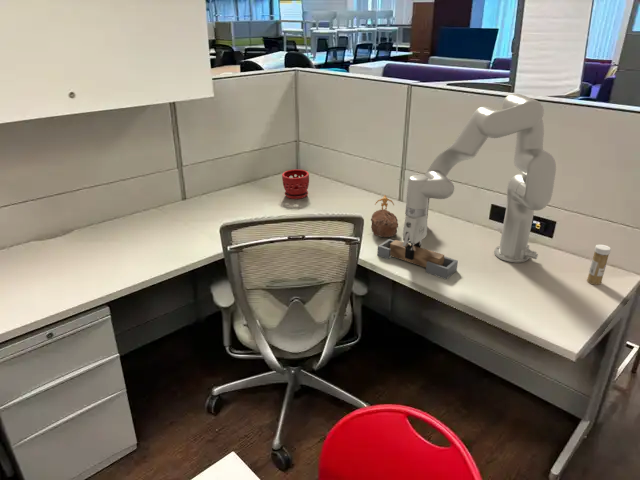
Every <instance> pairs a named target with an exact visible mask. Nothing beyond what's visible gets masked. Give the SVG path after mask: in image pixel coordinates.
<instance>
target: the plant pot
mask: <svg viewBox="0 0 640 480" xmlns="http://www.w3.org/2000/svg"><path fill="white" fill-rule="evenodd" d="M281 177H282V185H283V189H284V191H285V192H284V196H285V197H286V198H288V199H292V200H300V199H304V198H306V197H307V196H308V195H309V191H308V189H309V185H310V173H309V172H308V171H307V170H304V169H290V170H289V169H288V170H286V171H283V173H282V174H281Z"/></svg>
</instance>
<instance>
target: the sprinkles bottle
mask: <svg viewBox="0 0 640 480" xmlns="http://www.w3.org/2000/svg"><path fill="white" fill-rule="evenodd" d="M611 251H612V248H611V247H610V246H609V245H605V244H602V243H601V244H596V245H595V247H594V253H593V256H592V260H591V264H590V267H589V269H588V270H589V271H588V275H587V276H588V277H587V278H586V281H587V283H589V284H591V285H593V286H596V285H597V286H599V285H601V284H602V281H603V277H604V274H605V270H606V267H607V262H608V258H609V255H610V254H611Z"/></svg>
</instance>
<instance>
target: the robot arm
mask: <svg viewBox="0 0 640 480" xmlns="http://www.w3.org/2000/svg"><path fill="white" fill-rule="evenodd" d="M544 114H545V109H544V106H543V105H542V103H541V101H538V100H537V99H534V98H532V97H528V96H526V95H523V94H519V93H511V94H508V95H507V96H505V98H504V99H503V101H502V109H500V110H499V109H498V110H497V109H496V108H494V107H490V106H480V107H478V108H477V109H476V110H475V111H473V114H472V115H471V116H470V118H469V119H468V121H467V122H466V123H465V125H464V126H463V128H462V129H461V131H460V133H459V135H458V136H457V137H456V139H455V140H454V141H453V143H452V144H451V145H449V146H448V147H447V148H446V149H445V150H443V151H442V152H441V153H439V154H438V155H437V156H436V157H435V159H434V160H433V161H432V163H431V164H430V165H429V167H428V169H427V170H426V172H425V173H424V175H423V174H413V175H411V176H409V178H408V179H407V185H406V198H405V199H406V200H405V211H404V212H405V213H404V214H405V217H406V218H405V219H404V224H403V230H402V240H403V241H402V242H403V246H404V247H405V249H406V250H405V258H407V259H410V260H413V258H414V250H413V247H414V246H417V247H420V248H422V247H421V245H422V240H423V239H424V238H425V237H427V235H428V219H427V207H428V198H430V199H434V200H445V199H448V198H450V197H452V195H453V194H454V192H455V186H454V183H453V182H452V180H450V178H449V177H447V176H448V174H449V173H450V172H451V170H452V169H453V168H454V167H455V166H456V165H458V164H459V163H461V162H463V161H468V160H472V159H473V158H475V157H476V156H477V154H478V153H479V151H480V149H482V147H484V144H485V142H487V140H488V138H490V139H498V138H500V139H501V138H503V137H506V136H510V135H513V134H516V139H515V147H514V148H515V150H514V158H513V159H514V160H513V164H514V166H515V168H516V169H517V170H519V171H520V173H517V174H515V175H514V176H512V177H511V178H510V179H509V181H508V183H507V187H506V207H505V213H504V219H503V223H502V224H503V225H502V231H501V236H500V243H499V246H496V247H495V248H494V251H493V253H494V255H495V256H496V257H497V258H498V259H500V260H502V261H505V262H510V263H519V264H520V263H525V262H527V261H529V259H530V258H531V259H534V260H537V259H538V256H539V255H538V254H537V251H536V250H532V249H530V245H529V240H530V239H529V238H530V235H531V229H532V226H533V225H532V224H533V220H534V215H535V211H541V210H543V209H545V208H546V207H547V206H548V205H549V203H550V202H551V200H552V196H553V193H554V192H553V191H554V187H555V186H554V185H555V179H556V172H557V164H556V160H555V158H554V156H553V155H552V154H551V153H549V152H548V151H546V150H545V149H544V134H545V128H544V121H543V117H544ZM409 244H411V246H410V245H409Z"/></svg>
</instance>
